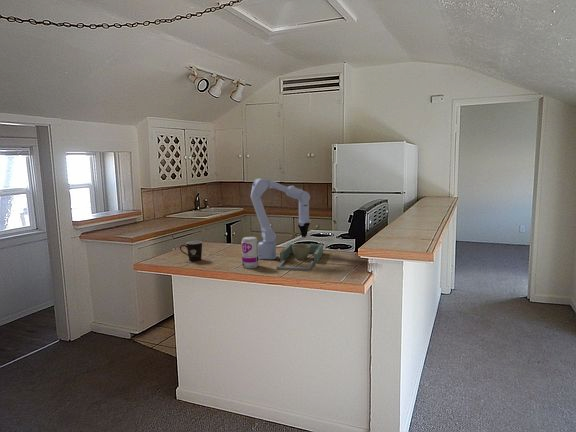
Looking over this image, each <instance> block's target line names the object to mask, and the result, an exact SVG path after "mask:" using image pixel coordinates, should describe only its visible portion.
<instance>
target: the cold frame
mask: <svg viewBox="0 0 576 432" xmlns="http://www.w3.org/2000/svg"><path fill="white" fill-rule="evenodd" d="M297 244H298V243H288V244H287V245H285V247H284V248H282V251H280V252H279V263H281V262H282V261H283V260H285V261H286V260H287V258H288V257H289V256H290V255H291V254H294V253H293V249H292V246H293V245H297ZM305 244H306V243H305ZM306 245H310V251H309V254H312V255H313V261H314V264H318V262H319V261H320V259H321V257H322V256H323V254H324V245H323V244H319V243H318V244H315V243H314V244H312V243H311V244H310V243H307V244H306Z"/></svg>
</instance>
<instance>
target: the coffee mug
mask: <svg viewBox="0 0 576 432" xmlns="http://www.w3.org/2000/svg"><path fill="white" fill-rule="evenodd" d="M182 247H185V248H186V250H187V253H186V252H184V250H182ZM179 250H180V252H182V254H184V255H186V256H188V260H189V262H192V263H194V262H195V263H196V262H200V261H202V253H203V241H201V240H192V241H187V242H186V244H182V245H181V246H180V247H179Z"/></svg>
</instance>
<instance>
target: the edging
mask: <svg viewBox="0 0 576 432" xmlns="http://www.w3.org/2000/svg"><path fill="white" fill-rule="evenodd" d="M285 263H286V259H285V260H283V261H282V262H279V264H278V265H277V266H276V270H277V271H278V270H281V271H309V272H310V271H311V268H313V265H314V264H315V263H314V260H311V261H310V262H309V264H308V265H307V266H306V267H301V266H300V267H299V266H284V264H285Z"/></svg>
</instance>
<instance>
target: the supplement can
mask: <svg viewBox="0 0 576 432" xmlns="http://www.w3.org/2000/svg"><path fill="white" fill-rule="evenodd" d="M240 242H241V260H242V261H241V263H242V267H243V268H245V269H255V268H257V267H258V266H259V259H258V244H259V241H258V239H257V237H256V236H244V237H242V239H241V241H240Z"/></svg>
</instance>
